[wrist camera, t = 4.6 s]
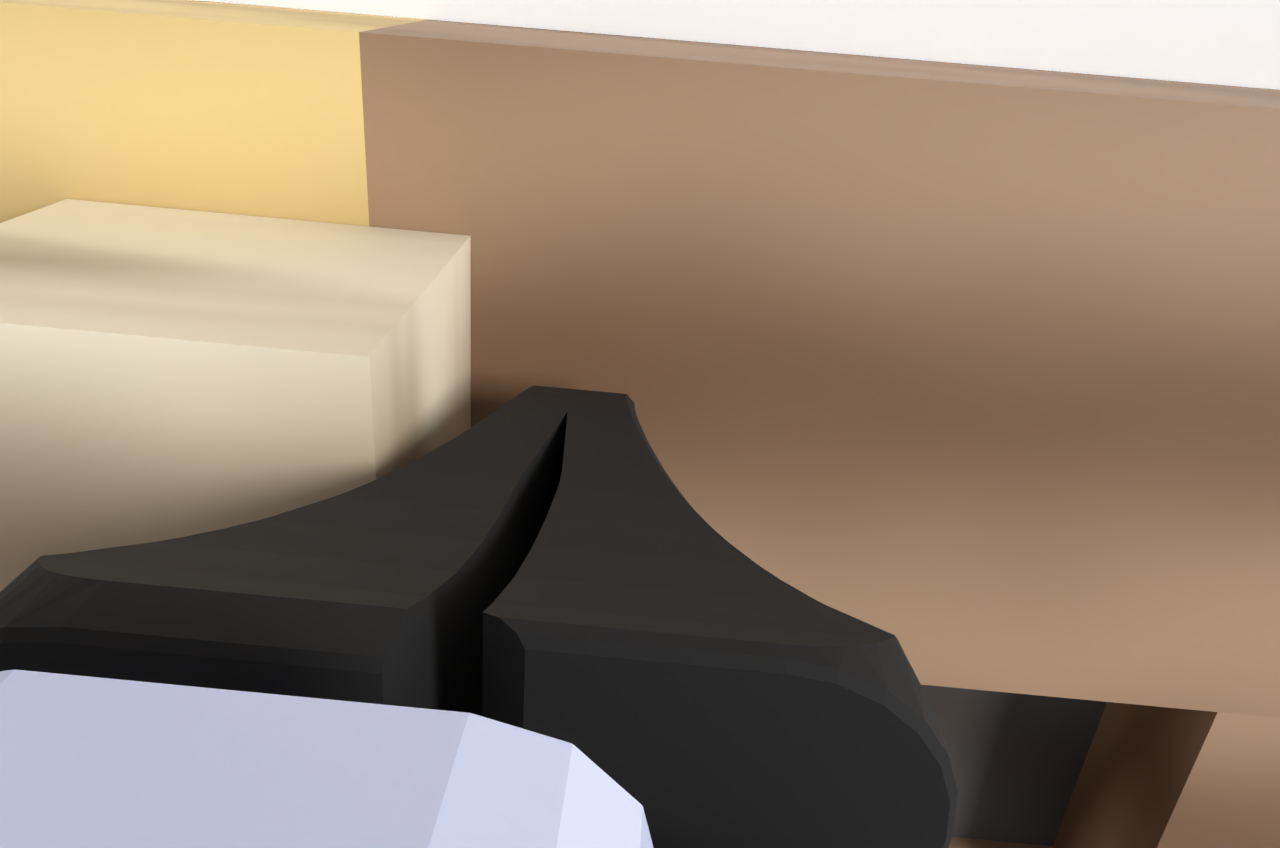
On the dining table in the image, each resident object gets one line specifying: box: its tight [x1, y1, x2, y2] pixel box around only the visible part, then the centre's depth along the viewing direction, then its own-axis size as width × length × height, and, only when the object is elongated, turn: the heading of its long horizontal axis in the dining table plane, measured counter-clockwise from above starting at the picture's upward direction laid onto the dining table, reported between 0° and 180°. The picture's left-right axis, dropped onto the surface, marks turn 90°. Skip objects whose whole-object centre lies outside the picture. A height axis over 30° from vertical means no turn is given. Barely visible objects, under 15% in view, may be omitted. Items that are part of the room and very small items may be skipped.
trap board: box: [0, 0, 1280, 848], centre depth 15 cm, size 16×24×3 cm, turn 86°
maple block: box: [0, 199, 471, 592], centre depth 11 cm, size 5×5×4 cm
